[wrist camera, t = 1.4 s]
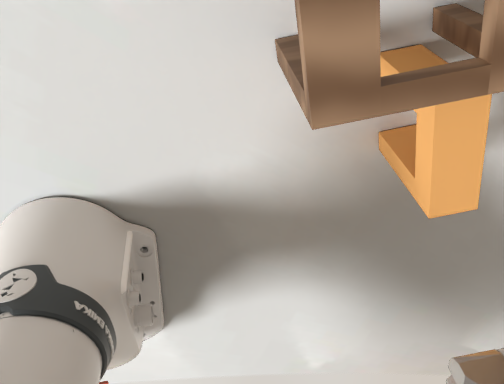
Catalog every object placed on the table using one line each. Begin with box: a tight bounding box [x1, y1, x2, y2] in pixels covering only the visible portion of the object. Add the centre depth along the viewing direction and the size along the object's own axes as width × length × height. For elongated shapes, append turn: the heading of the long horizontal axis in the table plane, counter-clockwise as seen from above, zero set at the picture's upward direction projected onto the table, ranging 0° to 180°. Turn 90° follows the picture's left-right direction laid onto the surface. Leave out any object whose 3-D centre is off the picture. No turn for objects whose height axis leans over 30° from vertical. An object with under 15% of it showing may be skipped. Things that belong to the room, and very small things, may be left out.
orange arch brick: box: [379, 44, 492, 219], centre depth 41 cm, size 10×4×12 cm, turn 9°
